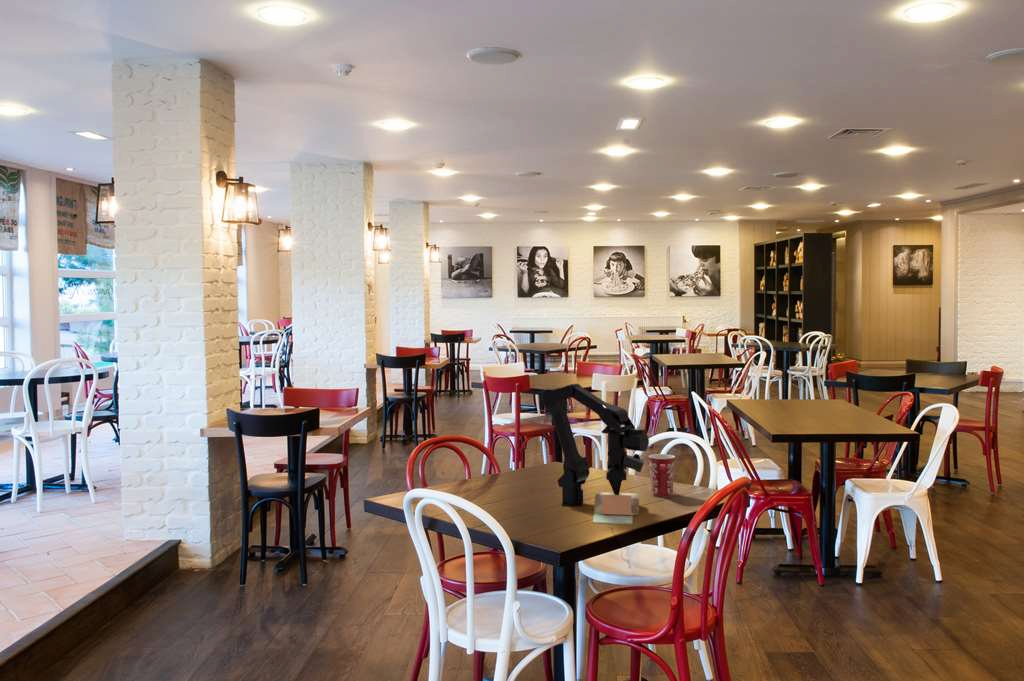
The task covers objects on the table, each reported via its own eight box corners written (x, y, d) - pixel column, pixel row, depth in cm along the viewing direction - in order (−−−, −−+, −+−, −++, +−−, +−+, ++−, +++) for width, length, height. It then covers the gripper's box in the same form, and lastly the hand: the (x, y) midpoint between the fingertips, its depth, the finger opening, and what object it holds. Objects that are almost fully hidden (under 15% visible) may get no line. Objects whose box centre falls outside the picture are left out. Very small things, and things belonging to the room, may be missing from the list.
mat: (592, 523, 256) (592, 522, 256) (594, 513, 267) (594, 512, 267) (632, 524, 255) (632, 523, 255) (632, 514, 265) (632, 513, 265)
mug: (648, 491, 297) (648, 453, 296) (674, 491, 295) (674, 453, 294) (648, 500, 284) (648, 460, 283) (676, 500, 283) (676, 461, 282)
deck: (594, 513, 267) (594, 501, 267) (596, 504, 279) (596, 492, 279) (638, 514, 265) (638, 502, 265) (638, 505, 277) (638, 493, 277)
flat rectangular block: (602, 513, 266) (602, 514, 264) (602, 494, 267) (602, 494, 265) (631, 514, 264) (631, 514, 262) (631, 495, 266) (631, 495, 264)
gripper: (642, 453, 257) (642, 504, 258) (641, 443, 276) (641, 490, 277) (606, 453, 259) (606, 503, 260) (607, 442, 277) (608, 489, 278)
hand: (616, 496), depth 269 cm, fingers closed
